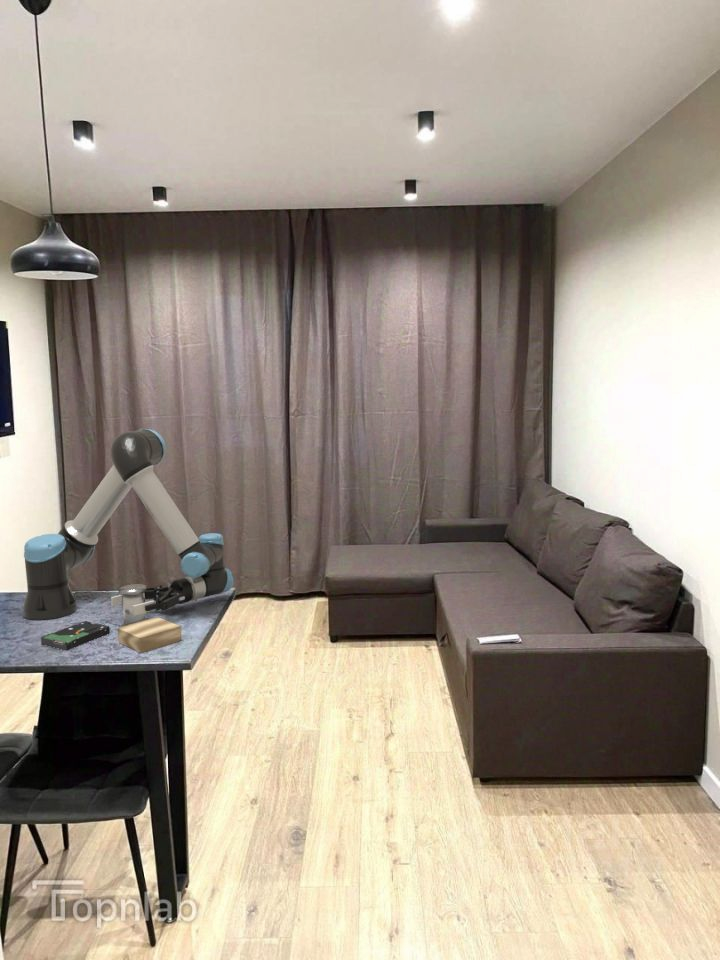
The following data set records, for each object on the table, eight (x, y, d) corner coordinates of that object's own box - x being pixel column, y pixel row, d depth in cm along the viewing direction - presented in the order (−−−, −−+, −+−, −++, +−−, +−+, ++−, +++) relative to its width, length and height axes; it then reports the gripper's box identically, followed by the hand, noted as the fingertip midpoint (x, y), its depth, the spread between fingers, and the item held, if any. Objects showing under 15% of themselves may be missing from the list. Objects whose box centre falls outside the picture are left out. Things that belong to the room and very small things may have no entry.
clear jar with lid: (116, 623, 209) (113, 588, 207) (140, 616, 214) (137, 582, 213) (130, 629, 204) (127, 593, 202) (153, 622, 209) (151, 587, 208)
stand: (118, 642, 194) (117, 627, 193) (158, 630, 202) (157, 616, 202) (141, 653, 185) (140, 638, 185) (181, 640, 194) (180, 626, 193)
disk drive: (85, 630, 206) (40, 646, 193) (84, 620, 206) (39, 636, 193) (111, 635, 201) (66, 652, 188) (110, 625, 201) (65, 642, 188)
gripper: (210, 609, 213) (144, 628, 198) (166, 594, 230) (103, 610, 214) (209, 584, 212) (143, 601, 197) (165, 571, 229) (101, 586, 213)
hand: (122, 606), depth 206 cm, fingers open, 12 cm apart
